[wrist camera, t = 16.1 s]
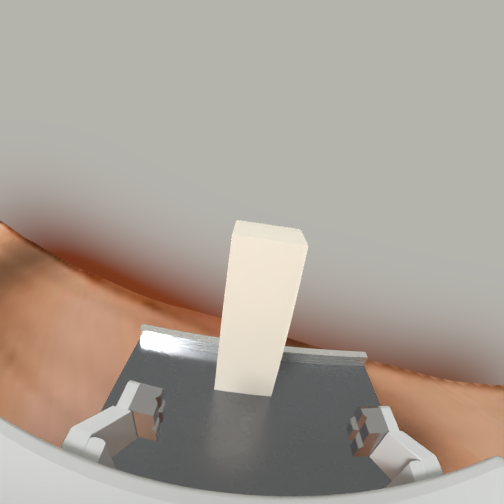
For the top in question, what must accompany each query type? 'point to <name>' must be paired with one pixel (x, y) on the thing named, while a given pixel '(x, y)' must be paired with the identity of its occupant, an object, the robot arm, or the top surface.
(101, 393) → the top surface
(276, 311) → the tea box
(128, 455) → the flat grey white box
